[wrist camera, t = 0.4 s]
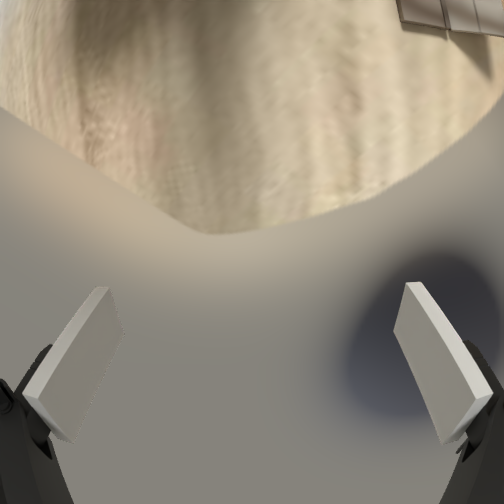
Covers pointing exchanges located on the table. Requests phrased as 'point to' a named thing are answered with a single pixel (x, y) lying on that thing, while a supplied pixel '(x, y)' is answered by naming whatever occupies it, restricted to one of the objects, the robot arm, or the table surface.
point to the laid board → (424, 13)
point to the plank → (476, 16)
